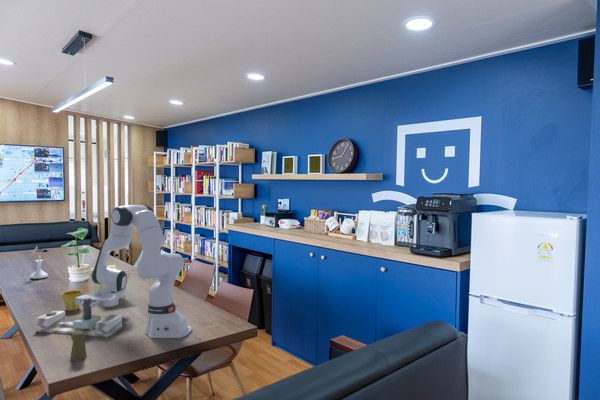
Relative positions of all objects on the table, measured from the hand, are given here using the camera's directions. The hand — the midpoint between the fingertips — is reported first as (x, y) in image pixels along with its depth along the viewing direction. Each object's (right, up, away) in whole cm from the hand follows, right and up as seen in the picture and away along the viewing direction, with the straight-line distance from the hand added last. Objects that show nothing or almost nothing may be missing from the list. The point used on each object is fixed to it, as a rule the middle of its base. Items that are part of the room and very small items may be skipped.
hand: (86, 305), depth 193 cm
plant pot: (-26, -11, +33) cm, 44 cm away
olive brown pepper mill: (+13, -15, -29) cm, 35 cm away
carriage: (0, -11, +1) cm, 12 cm away
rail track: (-4, -13, +2) cm, 14 cm away
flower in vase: (-92, -7, +101) cm, 137 cm away
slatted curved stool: (-17, -11, +58) cm, 61 cm away
